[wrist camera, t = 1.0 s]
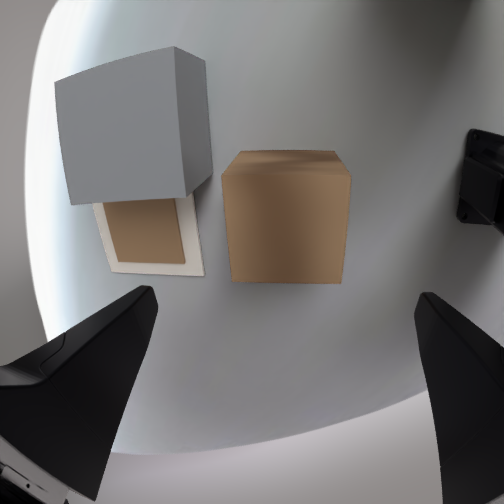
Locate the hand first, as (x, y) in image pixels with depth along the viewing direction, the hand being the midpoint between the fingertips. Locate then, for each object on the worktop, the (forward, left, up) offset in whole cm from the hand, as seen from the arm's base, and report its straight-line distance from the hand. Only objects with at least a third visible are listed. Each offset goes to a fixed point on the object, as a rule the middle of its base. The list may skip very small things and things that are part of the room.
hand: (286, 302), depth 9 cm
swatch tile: (+10, +2, -10) cm, 15 cm away
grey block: (+8, -5, -10) cm, 14 cm away
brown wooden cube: (0, 0, -10) cm, 10 cm away
